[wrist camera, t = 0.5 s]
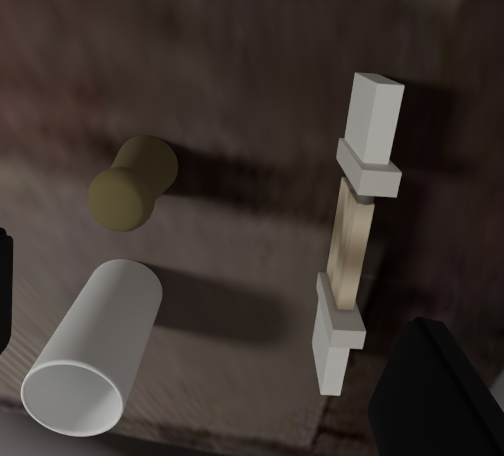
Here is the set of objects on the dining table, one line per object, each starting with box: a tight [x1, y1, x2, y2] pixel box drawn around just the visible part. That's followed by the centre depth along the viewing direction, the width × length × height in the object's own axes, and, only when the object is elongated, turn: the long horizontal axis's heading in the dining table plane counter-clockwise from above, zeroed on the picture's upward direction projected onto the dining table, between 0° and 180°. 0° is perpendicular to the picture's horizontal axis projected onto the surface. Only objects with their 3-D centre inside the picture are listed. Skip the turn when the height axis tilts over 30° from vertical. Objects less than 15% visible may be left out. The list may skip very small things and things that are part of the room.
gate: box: [327, 172, 375, 310], centre depth 41 cm, size 12×2×7 cm, turn 176°
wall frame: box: [312, 72, 405, 396], centre depth 41 cm, size 31×3×10 cm, turn 176°
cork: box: [87, 135, 178, 232], centre depth 38 cm, size 6×6×11 cm
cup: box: [21, 259, 162, 436], centre depth 42 cm, size 8×8×16 cm
